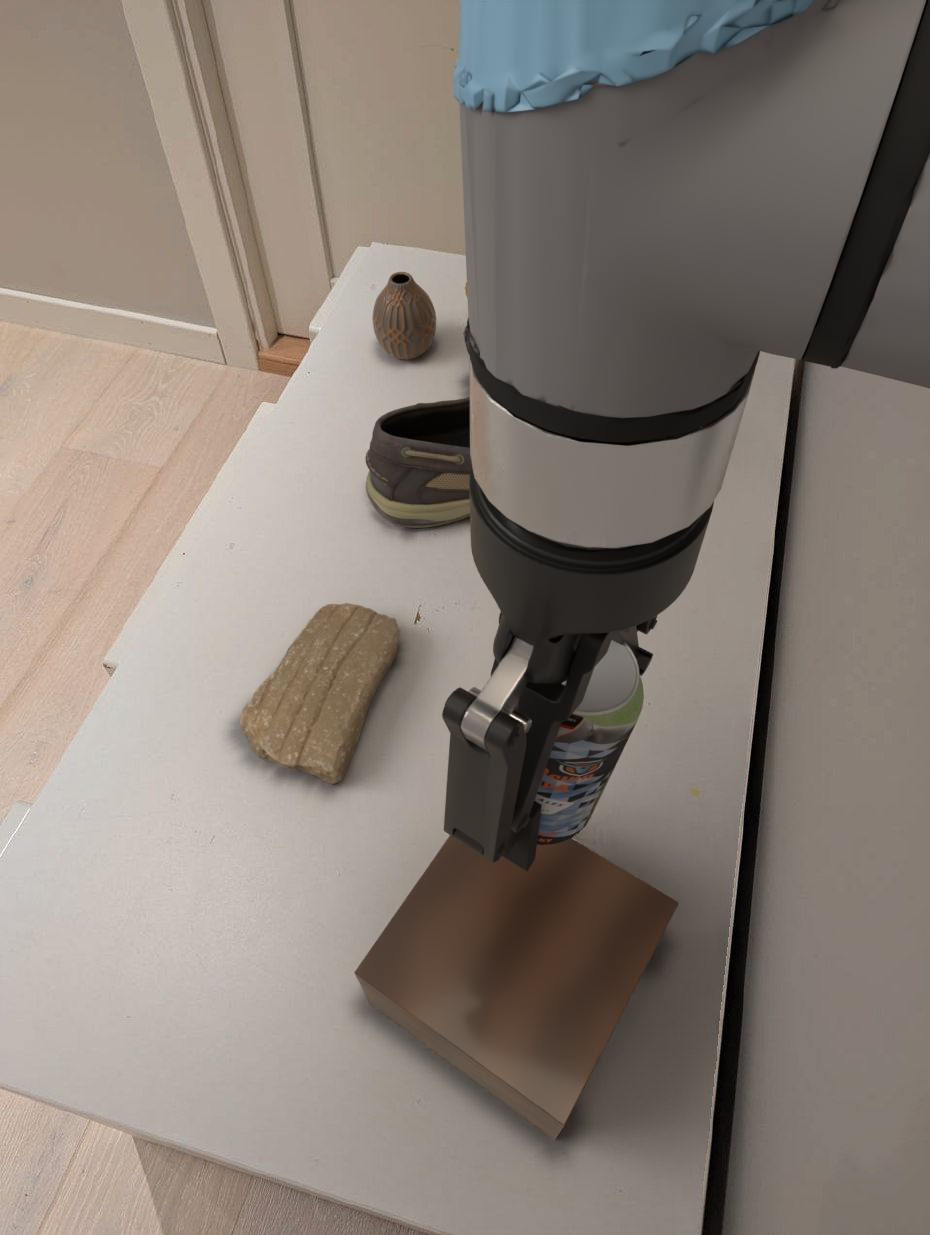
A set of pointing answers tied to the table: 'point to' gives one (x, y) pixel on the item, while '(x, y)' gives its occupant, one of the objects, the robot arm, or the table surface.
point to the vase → (404, 318)
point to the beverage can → (590, 746)
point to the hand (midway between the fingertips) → (549, 788)
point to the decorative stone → (322, 691)
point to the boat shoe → (421, 464)
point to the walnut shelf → (518, 968)
